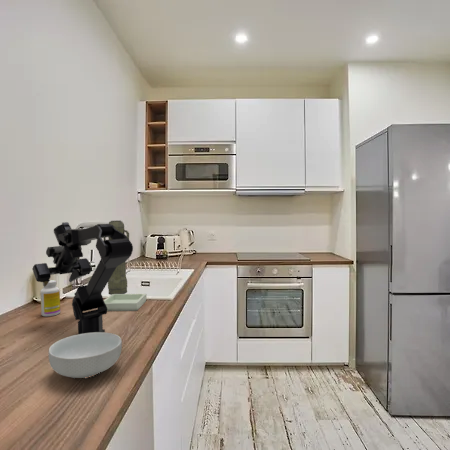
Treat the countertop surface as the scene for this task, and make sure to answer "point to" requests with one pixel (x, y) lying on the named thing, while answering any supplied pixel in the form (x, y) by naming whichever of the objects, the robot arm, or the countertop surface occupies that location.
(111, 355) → the cereal bowl
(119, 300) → the tray
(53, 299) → the supplement bottle
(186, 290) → the countertop surface
